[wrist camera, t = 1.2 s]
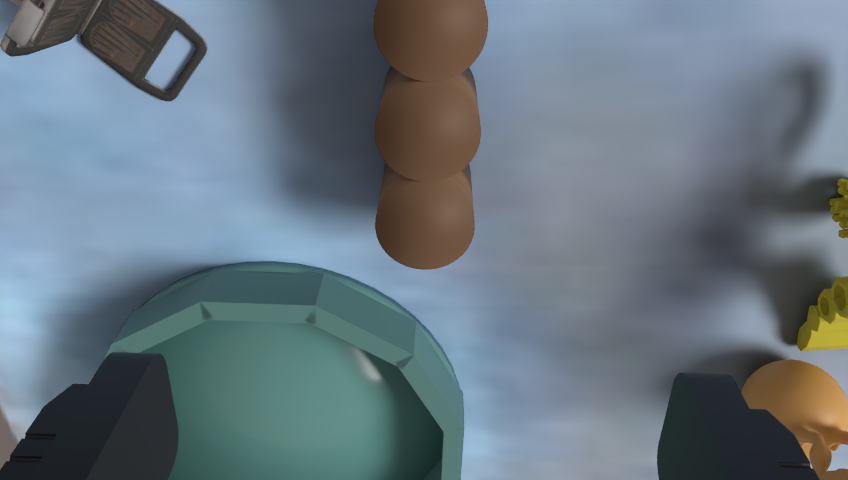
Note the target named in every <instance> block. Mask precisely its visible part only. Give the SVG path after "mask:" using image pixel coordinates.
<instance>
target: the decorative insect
mask: <svg viewBox="0 0 848 480" xmlns="http://www.w3.org/2000/svg"><path fill="white" fill-rule="evenodd" d="M837 185H838V187H839V188H838V193H839V194H840V195H843V198H833V199H830V205H831V206H832V207H831V209H830V212H831V213H832V214H833V216H832V219H833V220H834V221H835V222H839V225H840V227H841V228H843V229H844V230H839V236H840V237H841V238H845V237H848V229H845V228H848V180H846V179H839V180H838V183H837ZM797 346H798V348H799V349H800V351H810V350H826V349H843V348H848V277H838V278H837V279H836V280H835V282H834V283H833V285H832V287H831V289H824V290H823V291H822V292H821V294H820V296H819V298H818V305H811V306H809V311H808V316H807V321H806V322H805V323H804V324H803V325H802V326H801V327H800V329H799V333H798V338H797Z"/></svg>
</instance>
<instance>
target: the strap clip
mask: <svg viewBox="0 0 848 480" xmlns="http://www.w3.org/2000/svg"><path fill="white" fill-rule="evenodd" d="M9 1H11V2H12V3H14V4H15V5H17V6H18V7H19V9H18V11H17V13H16V15H15V16H14V18H13V20H12V22H11V24H10V26H9V28H8V30H7V32H6V33H5V35H4V37H3V39H2V42H1V45H0V47H1V49H2V50H3V51H4V52H5V53H6V54H8V55H9V56H21V55H28V54H31V53H34V52H37V51H40V50H43V49H46V48H49V47H52V46H55V45H58V44H61V43H64V42H67V41H69V40H71V39H72V38H73V37H74V36H75V34H76V33H77V34H78V35H79V34H80V33H81V34H82V35H81V43H82V44H83V45H84V46H85V47H86V48H88V49H89V50H90V51H92V52H93V53H94V54H95V55H97V56H98V57H99V58H100V59H102V60H103V61H104V62H106V63H107V64H108V65H109V66H111V67H112V68H113V69H115V70H116V71H117V72H118V73H120V74H121V75H122V76H124V77H125V78H126V79H127V80H129V81H130V82H131V83H133V84H134V85H135V86H136V87H138V88H140V89H142V90H143V91H145V92H147V93H149V94H151V95H153V96H155V97H156V98H158V99H160V100H164V101H172V100H174V99H175V98H176V97H177V96H178V95H179V93H180V92H181V90H182V89H183V87H184V86H185V84H186V83H187V81H188V80H189V78H190V77H191V75H192V74H193V73H194V71H195V70H196V68H197V67H198V65H199V64H200V62H201V61H202V59H203V58H204V56H205V55H206V53H207V50H208V46H207V43H206V41H205V40H204V38H203V37H202V36H201V35H200V34H199V33H198V32H197V31H196V30H195V29H194V28H193V27H192V26H191V25H190V24H189V23H188V22H187V21H186V20H185V19H184V18H182V17H181V16H179V15H178V14H176V13H175V12H173V11H172V10H170V9H169V8H167V7H166V6H164V5H163V4H161V3H160V2H158V1H157V0H9ZM176 28H177V29H179V30H180V31H181V32H182V33H183V34H184V35H185V36H186V37H187V38H188V39H190V40H191V41H192V42H193V43H194V44H195V46H196V50H195V52H194V54H193V56H192V57H191V59H190V60H189V62H188V63H187V65H186V66H185V68H184V69H183V71H182V72H181V74H180V75H179V77H178V78H177V80H176V81H175V83H174V84H173V86H172V87H171V88H170V89H169V90H164V89H162V88H160V87H159V86H157V85H155V84H153V83H152V82H150V81H148V80H146V79H145V76H146V75H147V73H148V71H149V70H150V68H151V67H152V65H153V64H154V62H155V61H156V59H157V57H158V56H159V54H160V53H161V51H162V50H163V48H164V47H165V45H166V43H167V42H168V40H169V39H170V37H171V36H172V34H173V33H174V31H175V29H176Z"/></svg>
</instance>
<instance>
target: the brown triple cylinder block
mask: <svg viewBox="0 0 848 480" xmlns="http://www.w3.org/2000/svg"><path fill="white" fill-rule="evenodd" d="M487 31H488V17H487V11H486V6H485V2H484V0H379V1H378V4H377V7H376V10H375V16H374V32H375V37H376V41H377V44H378V47H379V49H380V51H381V53H382V54H383V56H384V57H385V59H386V60H387V61H388V62H389V64H390V65H391V66H392V67H391V68H390V70H389V72H388V74H387V77H386V80H385V84H384V88H383V93H382V97H381V101H380V105H379V110H378V114H377V118H376V123H375V140H376V145H377V148H378V150H379V152H380V154H381V156H382V158H383V159H384V161H385V162H386V165H385V169H384V175H383V181H382V186H381V192H380V198H379V204H378V209H377V215H376V222H375V228H376V234H377V238H378V241H379V243H380V245H381V246H382V248H383V249H384V251H385V252H386V253H387V254H388V255H389V256H390V257H391V258H393V259H394V260H395V261H397V262H399V263H400V264H403V265H405V266H408V267H411V268H415V269H436V268H440V267H443V266H446V265H448V264H450V263H452V262H454V261H455V260H457V259H458V258H459V257H460V256H462V255H463V254H464V252H465V251H466V250H467V248H468V247H469V245H470V243H471V241H472V238H473V235H474V212H473V199H472V186H471V172H470V167H469V163H470V162H471V160H472V159H473V157H474V156H475V154H476V152H477V149H478V146H479V143H480V137H481V128H480V119H479V111H478V103H477V94H476V86H475V81H474V77H473V75H472V72H471V70H470V69H469V67H470V66H471V65H472V63H473V62H474V61H475V60H476V59H477V57H478V56H479V54H480V52H481V51H482V49H483V46H484V44H485V41H486V37H487Z"/></svg>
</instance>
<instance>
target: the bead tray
mask: <svg viewBox="0 0 848 480" xmlns="http://www.w3.org/2000/svg"><path fill="white" fill-rule="evenodd" d="M112 352H128V353H158V354H162V355H163V357H164V358H165V361H166V364H167V369H168V374H169V380H170V385H171V390H172V396H173V401H174V407H175V412H176V417H177V423H178V431H179V439H178V449H177V455H176V459H175V463H174V466H173V468H172V471H171V473H170V476H169V478H168V480H461V466H462V451H463V437H464V409H463V392H462V390H461V389H460V387H459V384H458V381H457V378H456V375H455V373H454V370H453V367H452V365H451V363H450V361H449V360H448V358H447V356H446V354H445V352H444V351H443V349H442V347H441V346H440V345H439V343H438V342H437V341H436V339H435V338H434V337H433V335H432V334H431V333H430V331H429V330H428V329H427V328H426V327H425V326H424V325H423V324H422V323H421V322H420V321H419V320H418V319H417V318H416V317H415V316H414V315H412V314H411V313H410V312H409V311H407V310H406V309H405V308H403V307H402V306H401V305H400V304H398V303H397V302H396V301H394V300H393V299H391V298H389V297H388V296H386V295H384V294H383V293H381V292H379V291H378V290H376V289H374V288H372V287H370V286H368V285H366V284H363V283H361V282H359V281H357V280H355V279H352V278H350V277H347V276H344V275H341V274H338V273H335V272H332V271H328V270H325V269H321V268H316V267H311V266H306V265H301V264H292V263H281V262H246V263H239V264H232V265H224V266H220V267H216V268H212V269H208V270H205V271H201V272H198V273H195V274H193V275H190V276H188V277H186V278H183V279H181V280H178V281H176V282H175V283H173V284H171V285H169V286H168V287H166V288H164V289H163V290H161V291H159V292H158V293H156V294H155V295H154V296H153V297H151V298H150V299H149V300H148V301H147V302H145V303H144V304H143V305H142V306H141V307H140V308H138V309H136V310H134V311H132V313H131V315H130V316H129V318H128V319H127V321H126V322H125V324H124V325H123V327H122V329H121V330H120V332H119V333H118V335H117V336H116V338H115V339H114V341H113V342H112V344H111V346H110V348H109V350H108V352H107V354H106V356H105V358H106V357H107V356H108V355H109V354H110V353H112ZM105 358H104V359H105ZM103 361H104V360H103ZM102 363H103V362H102Z"/></svg>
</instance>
